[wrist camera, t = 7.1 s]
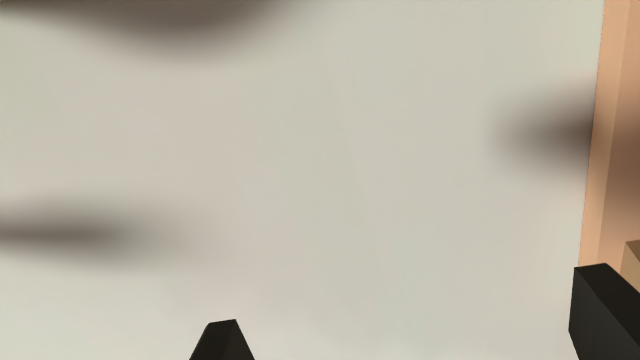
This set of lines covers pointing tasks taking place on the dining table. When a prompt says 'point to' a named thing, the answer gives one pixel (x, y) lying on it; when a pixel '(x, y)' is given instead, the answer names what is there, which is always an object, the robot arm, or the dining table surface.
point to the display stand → (615, 148)
